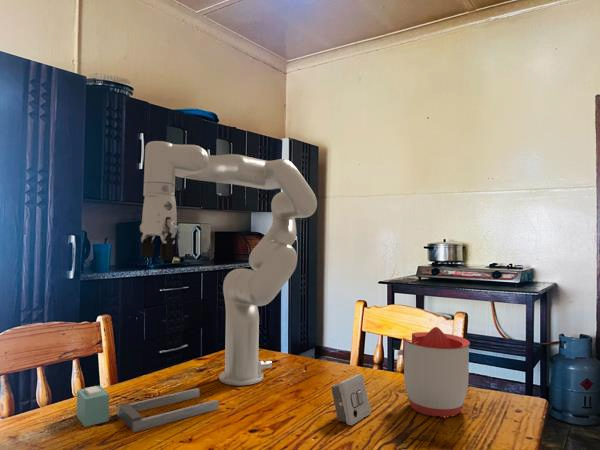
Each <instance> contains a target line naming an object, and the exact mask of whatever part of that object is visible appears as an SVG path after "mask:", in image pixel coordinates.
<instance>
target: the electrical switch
mask: <svg viewBox="0 0 600 450" xmlns="http://www.w3.org/2000/svg"><path fill="white" fill-rule="evenodd" d="M365 384H366V383H365V380H364V376H363V374H362V373H360V374H359V373H358V374H356V375H353V376H351V377H349V378H347V379H345V380H343V381H341V382H338V383H337V384H334V385H331V386H330V389H331V393H332V398H333V403H334V407H335V412H336V417H337V421H338V422H339V421H342V422H343V423H346V425H347V426H348V425H351V426H354V425H355V424H356V423H358V422H360V421H361V420H363V419H364V417H365V418H367V416H369V415H371V412H372V409H371V404H370V402H369V397H368V391H367V388H366V385H365Z"/></svg>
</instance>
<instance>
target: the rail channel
mask: <svg viewBox="0 0 600 450" xmlns="http://www.w3.org/2000/svg"><path fill="white" fill-rule="evenodd" d="M197 398H200V388H199V387H196V388H192V389H185V390H184V391H178V392H174V393H170V394H165V395H161V396H156V397H151V398H147V399H144V400H143V399H142V400H139V401H135V402H130V403H123V404H120V405H117V416H118V417H119V418H120V419H121V420H122V421H123V423H125V425H126V426H128V428H129V429H130V430H131V431H132V432H133V433H136V432H141V431H145V430H148V429H152V428H154V427H158V426H163V425H166V424H169V423H173V422H176V421H181V420H184V419H188V418H191V417H192V418H193V417H196V416H199V415H203V414H206V413H209V412H213V411H217V410H219V401H218V400H217V399H215V400H211V401H205V402H202V403H198V404H195V405H190V406H186V407H183V408H179V409H174V410H172V411H171V410H170V411H168V412H167V411H166V412H163V413H159V414H155V415H151V416H147V417H143V416H142V415H141V414H140V413H139V412H142V411H147V410H151V409H155V408H160V407H164V406H168V405H172V404H177V403H179V402H180V403H181V402H185V401H187V400H188V401H189V400H191V399H192V400H193V399H197Z"/></svg>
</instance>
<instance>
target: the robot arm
mask: <svg viewBox="0 0 600 450" xmlns="http://www.w3.org/2000/svg"><path fill="white" fill-rule="evenodd" d="M144 148H145V149H144V171H143V172H144V174H143V193H142V195H143V197H144V199H143V205H142V206H143V207H142V215H141V216H142V218H141V223H140V225H139V231H140V234H139V235H140V242H141V246H140V247H141V250H140V251H141V253H140V258H142V259H147V258H148V259H149V258H150V259H151V258H154V255H155V253H154V251H155V242H153V241H154V240H155V237H156V236H159V237H160V240H161V242H162V243H160V249H159V250H160V251H159V255H160V256H159V260H160V261H172V260H174V244H175V243H176V240H175V239H176V238H177V232H178V230H179V226H178V225H177V224H178V223H177V222H178V221H177V220H178V219H177V212H178V211H177V203H176V196H175V192H176V191H175V189H176V177H178V178H181V179H182V178H183V179H190V180H195V181H203V182H210V183H211V182H213V183H220V184H226V185H227V184H229V185H236V186H243V187H250V188H254V189H259V190H260V189H262V190H277V189H280V190H281V191H280V192H278V193H276V194H275V195H273V197H272V200H271V204H270V205H271V206H270V207H271V213H272V214H271V215H272V222H271V223H272V224H271V225H270V226H271V227H270V228H269V229H268V230H267V232H266V233H265V235H264V236H262V238H261V239H260V241H258V243H257V244H256V246H255V247H254V248H253V249H252V250H251V253H250V254H249V257H248V263H249V266H250V267H251V269H250V268H249V269H248V268H235V269H233V270H231V271H229V272H228V273H227V274H226V276H225V277H224V280H223V284H222V285H223V286H222V292H223V296H224V297H223V298H224V304H225V305H224V306H225V338H224V339H225V342H224V343H225V345H224V347H225V348H224V350H225V351H224V352H225V353H224V354H225V355H224V371H222V372H220V373H219V378H218V379H219V381H220V382H221V383H223V384H225V385H228V386H250V385H254V384H255V385H256V384H258V383H260V382H261V381H262V380H263V379H264V373H263V371H264V369H269V368H272V366H273V362H272V361H271V360H267V361H263V360H259V348H260V347H259V342H260V341H259V336H260V335H259V334H260V329H259V328H260V327H259V325H260V315H259V314H260V313H259V308H258V307H263V306H266V305H268V304H269V303H271V302H273V300H274V299H275V297H277V295H278V294H279V293H280V291H281V290H282V289H283V287H284V286H285V285H286V284H287V282H288V281H289V279H290V278H291V277H292V275H293V273H294V272H295V270H296V268H297V263H298V254H297V251H296V249H295V248H294V247H293V244H294V243H295V241H296V240H297V239H296V238H297V234H298V233H297V224H296V219H306V218H309V217H312V215H314V214H315V212H316V210H317V207H318V200H317V197H316V194H315V192H314V191H313V189H312V188H311V187H310V185H309V184H308V182H307V181H306V179H305V177H304V176H303V175H302V174H301V172H300V171H299V170H298V168H297V167H296V166H295V165H294V163H292V161H290V160H288V159H285V158H280V159H275V160H265V159H260V158H255V157H252V156H251V157H250V156H246V155H242V154H236V153H235V154H234V153H233V154H231V153H227V154H218V155H213V154H212V155H209V154H208V152H207V151H206V150H205V149H204V148H203V147H201V146H199V145H196V144H175V143H171V142H168V141H163V140H160V141H159V140H153V141H149V142H147V143H146V145H145V147H144Z"/></svg>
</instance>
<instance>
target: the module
mask: <svg viewBox="0 0 600 450" xmlns="http://www.w3.org/2000/svg"><path fill="white" fill-rule="evenodd" d="M109 410H110V394H109V393H108V392H107V391H106V389H104V388H103V387H102V386H101V385H94V386H90V387H85V388H81V389H77V390H76V417H77V419H78V421H80V423H81V424H82V426H83V427H89V426H95V425H98V424H102V423H107V422H109V421H110V420H109V417H110V411H109Z"/></svg>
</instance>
